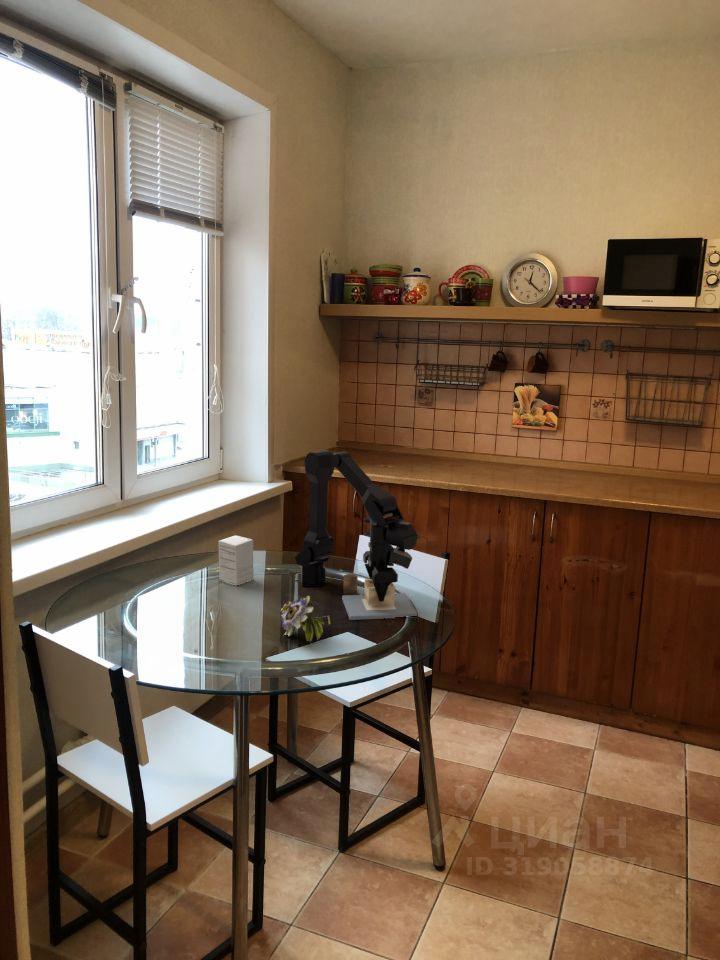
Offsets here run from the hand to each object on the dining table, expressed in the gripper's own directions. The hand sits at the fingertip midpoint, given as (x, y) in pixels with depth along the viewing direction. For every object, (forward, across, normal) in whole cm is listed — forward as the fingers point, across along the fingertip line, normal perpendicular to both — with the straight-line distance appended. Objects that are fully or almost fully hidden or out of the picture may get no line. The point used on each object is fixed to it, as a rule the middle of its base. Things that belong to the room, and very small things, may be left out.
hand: (378, 596), depth 210 cm
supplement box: (+4, +25, +38) cm, 46 cm away
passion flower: (+4, -15, +22) cm, 27 cm away
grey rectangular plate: (+3, 0, 0) cm, 3 cm away
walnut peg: (+3, +12, +6) cm, 14 cm away
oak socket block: (+1, 0, 0) cm, 1 cm away
